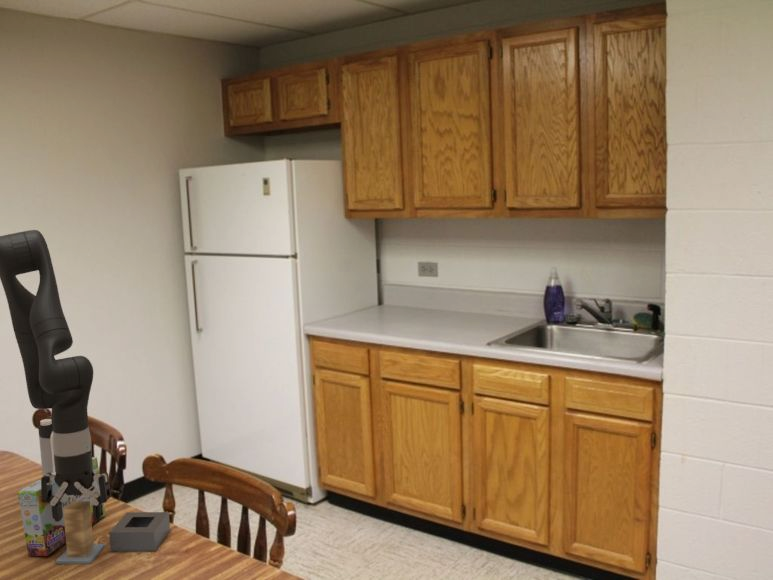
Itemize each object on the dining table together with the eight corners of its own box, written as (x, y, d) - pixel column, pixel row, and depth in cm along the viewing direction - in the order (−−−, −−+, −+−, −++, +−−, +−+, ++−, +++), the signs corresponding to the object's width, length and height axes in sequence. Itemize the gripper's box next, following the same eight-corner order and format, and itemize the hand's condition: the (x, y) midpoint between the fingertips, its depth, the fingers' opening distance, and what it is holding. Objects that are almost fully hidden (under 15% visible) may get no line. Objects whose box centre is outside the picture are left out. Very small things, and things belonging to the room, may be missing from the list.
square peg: (67, 557, 155) (63, 509, 154) (75, 548, 159) (72, 501, 158) (85, 557, 155) (81, 509, 154) (93, 548, 159) (89, 501, 158)
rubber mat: (72, 546, 161) (71, 544, 161) (104, 546, 161) (104, 544, 161) (56, 563, 154) (55, 561, 154) (90, 563, 154) (90, 561, 153)
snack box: (49, 556, 156) (36, 490, 154) (27, 557, 157) (14, 491, 155) (108, 514, 176) (97, 455, 174) (88, 514, 177) (77, 456, 176)
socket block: (128, 530, 169) (126, 512, 168) (170, 530, 168) (168, 512, 168) (110, 551, 159) (109, 532, 158) (155, 551, 158) (154, 532, 158)
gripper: (31, 455, 151) (37, 528, 153) (97, 454, 150) (103, 527, 152) (48, 443, 158) (54, 512, 160) (112, 442, 158) (117, 512, 160)
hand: (78, 519), depth 156 cm, fingers open, 8 cm apart
